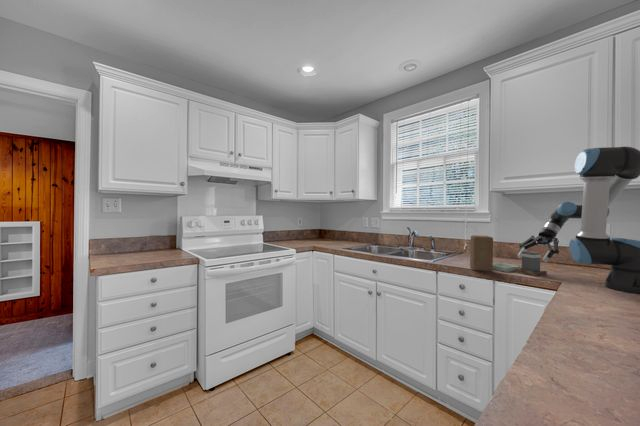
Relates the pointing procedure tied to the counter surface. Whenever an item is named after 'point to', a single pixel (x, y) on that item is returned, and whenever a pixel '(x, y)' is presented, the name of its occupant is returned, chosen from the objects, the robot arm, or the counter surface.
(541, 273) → the cradle
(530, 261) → the caddy
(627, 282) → the robot arm
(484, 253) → the wooden block
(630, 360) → the counter surface
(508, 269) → the tray
